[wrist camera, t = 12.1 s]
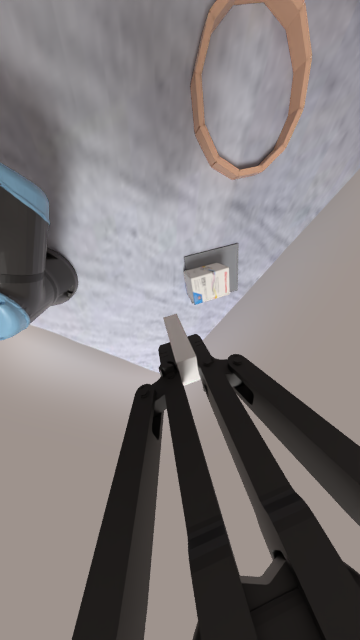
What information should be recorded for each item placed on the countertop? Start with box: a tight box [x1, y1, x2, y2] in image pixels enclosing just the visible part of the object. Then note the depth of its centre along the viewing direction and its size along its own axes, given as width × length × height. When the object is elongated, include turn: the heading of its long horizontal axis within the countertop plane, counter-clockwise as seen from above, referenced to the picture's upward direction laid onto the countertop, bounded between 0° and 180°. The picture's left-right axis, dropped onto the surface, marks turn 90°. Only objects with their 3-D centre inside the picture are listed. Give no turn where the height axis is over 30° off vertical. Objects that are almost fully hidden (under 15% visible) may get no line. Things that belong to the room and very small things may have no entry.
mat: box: [184, 243, 238, 303], centre depth 51 cm, size 18×16×1 cm
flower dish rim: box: [190, 0, 312, 180], centre depth 32 cm, size 25×25×3 cm
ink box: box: [184, 263, 230, 305], centre depth 47 cm, size 9×8×12 cm
